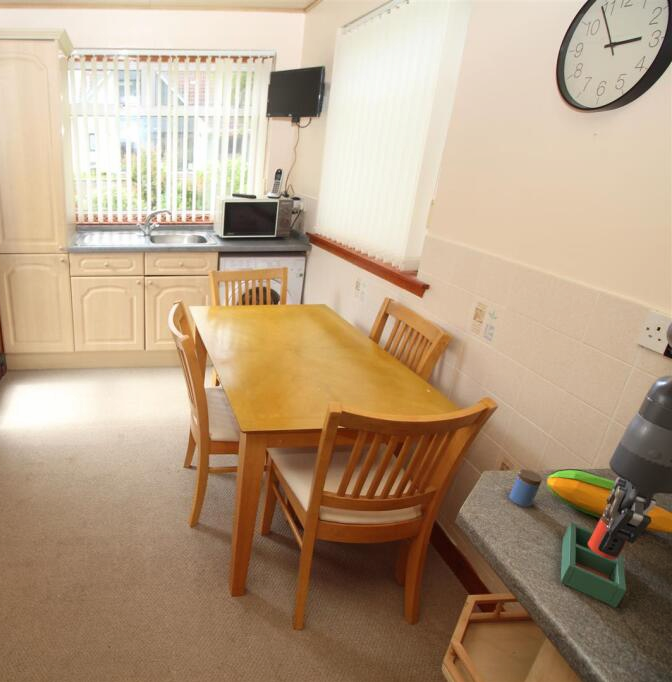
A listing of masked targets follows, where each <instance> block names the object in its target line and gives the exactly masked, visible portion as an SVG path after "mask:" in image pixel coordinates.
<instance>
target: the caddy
mask: <svg viewBox="0 0 672 682" xmlns="http://www.w3.org/2000/svg"><path fill="white" fill-rule="evenodd" d="M593 532H594V530H591V529H589V528H587V527H583V526H581V525H579V524H576V523H574V522H571V521H570V522H569V524H568V526H567V528H566V531H565V532H564V534H563V537H562V545H561V567H560V569H561V570H560V583H561V584H563V585H566V586H568V587H570V588H572V589H575V590H576V591H579V592H580V593H583V594H585V595H587V596H590V597H592V598H593V599H596V600H598V601H600V602H603V603H605V604H607V605H609V606H611V607H613V608H617V607H618V605H619V603H620V602H621V600H622V599H623V597H624V595H625V594H626V592H627V584H626V575H625V567H624V556H623V551H622V552H621V554H620V555H619V557H618V558H617V559H608V558H605V557H602V556H600V555H598V554H597V553H595V552H594V551H593V550H591V549H590V547H589V546H588V541H589V539H590V538H591V536H592V534H593Z"/></svg>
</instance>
